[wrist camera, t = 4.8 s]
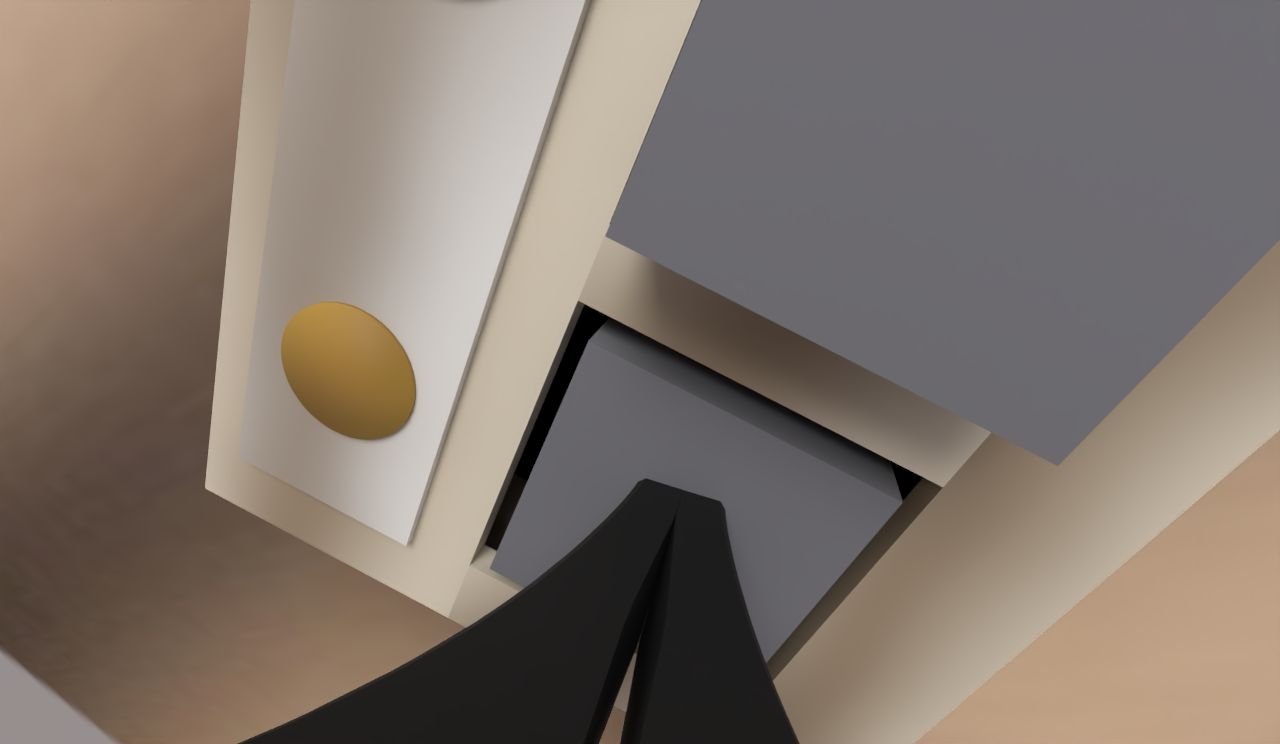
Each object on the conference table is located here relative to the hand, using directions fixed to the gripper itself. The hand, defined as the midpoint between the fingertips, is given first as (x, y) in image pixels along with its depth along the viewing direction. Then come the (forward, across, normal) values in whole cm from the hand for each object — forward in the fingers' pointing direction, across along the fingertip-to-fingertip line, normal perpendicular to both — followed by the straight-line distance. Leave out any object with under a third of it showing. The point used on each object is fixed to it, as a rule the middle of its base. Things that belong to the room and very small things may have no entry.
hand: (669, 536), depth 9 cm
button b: (+2, -2, -7) cm, 7 cm away
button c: (+3, 0, 0) cm, 3 cm away
